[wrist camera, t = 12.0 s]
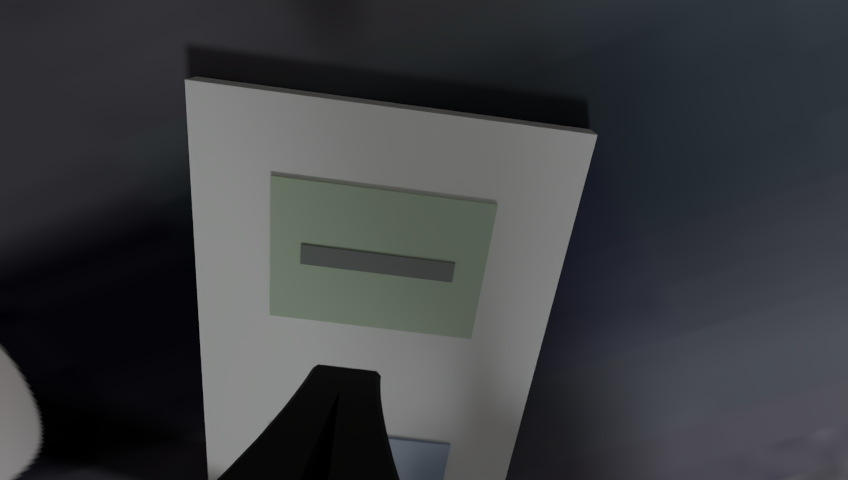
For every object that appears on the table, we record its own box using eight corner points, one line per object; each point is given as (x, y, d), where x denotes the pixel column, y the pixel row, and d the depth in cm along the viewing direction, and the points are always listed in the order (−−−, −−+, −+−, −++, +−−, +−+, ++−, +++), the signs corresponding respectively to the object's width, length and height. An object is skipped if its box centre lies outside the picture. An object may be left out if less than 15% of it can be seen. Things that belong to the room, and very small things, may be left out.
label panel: (590, 129, 16) (598, 136, 15) (466, 603, 25) (467, 624, 24) (196, 76, 15) (182, 80, 14) (221, 578, 25) (213, 599, 24)
